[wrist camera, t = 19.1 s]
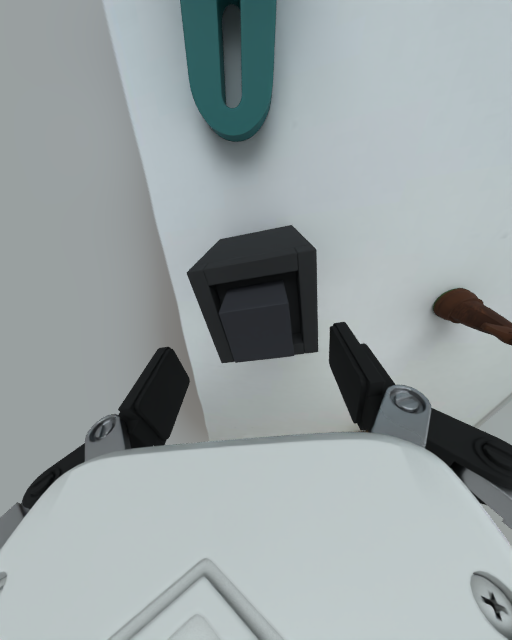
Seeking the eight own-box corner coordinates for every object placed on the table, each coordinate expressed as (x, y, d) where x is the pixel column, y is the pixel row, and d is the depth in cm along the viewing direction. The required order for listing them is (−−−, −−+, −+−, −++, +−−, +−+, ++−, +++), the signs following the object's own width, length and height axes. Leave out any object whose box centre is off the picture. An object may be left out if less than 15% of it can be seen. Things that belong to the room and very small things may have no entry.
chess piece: (448, 284, 26) (536, 325, 18) (480, 292, 27) (580, 336, 18) (425, 312, 29) (492, 360, 20) (454, 319, 29) (532, 369, 21)
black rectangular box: (219, 239, 24) (186, 272, 14) (292, 224, 23) (316, 248, 12) (236, 302, 29) (221, 363, 18) (297, 293, 28) (318, 352, 17)
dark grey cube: (227, 288, 16) (218, 312, 12) (282, 278, 15) (288, 302, 12) (240, 332, 18) (235, 363, 15) (288, 325, 17) (294, 356, 14)
